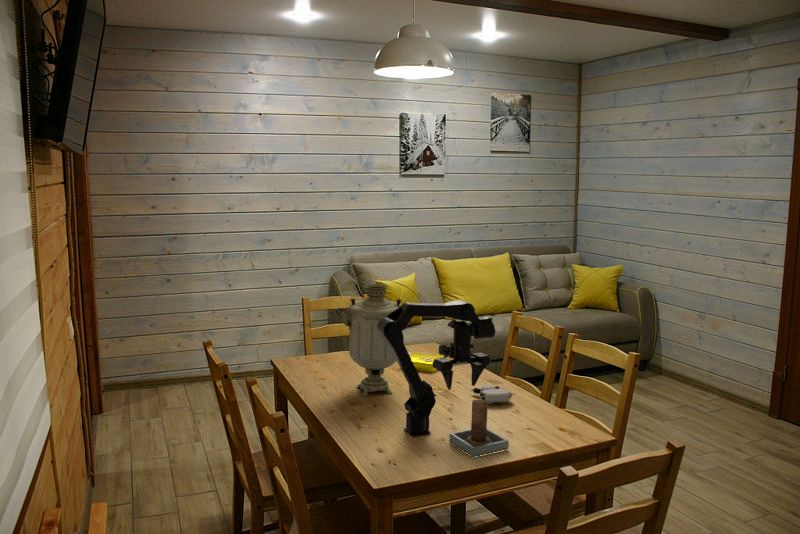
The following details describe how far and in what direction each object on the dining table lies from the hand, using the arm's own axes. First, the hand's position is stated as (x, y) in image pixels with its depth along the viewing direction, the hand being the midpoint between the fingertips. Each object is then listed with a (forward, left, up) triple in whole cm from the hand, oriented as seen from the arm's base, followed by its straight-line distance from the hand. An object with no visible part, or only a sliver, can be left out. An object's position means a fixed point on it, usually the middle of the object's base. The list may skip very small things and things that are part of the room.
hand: (461, 387), depth 214 cm
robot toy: (+25, +17, -13) cm, 33 cm away
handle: (-4, -16, -12) cm, 20 cm away
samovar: (-7, +47, -13) cm, 49 cm away
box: (-4, -16, -13) cm, 21 cm away
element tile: (+24, +65, -14) cm, 71 cm away
